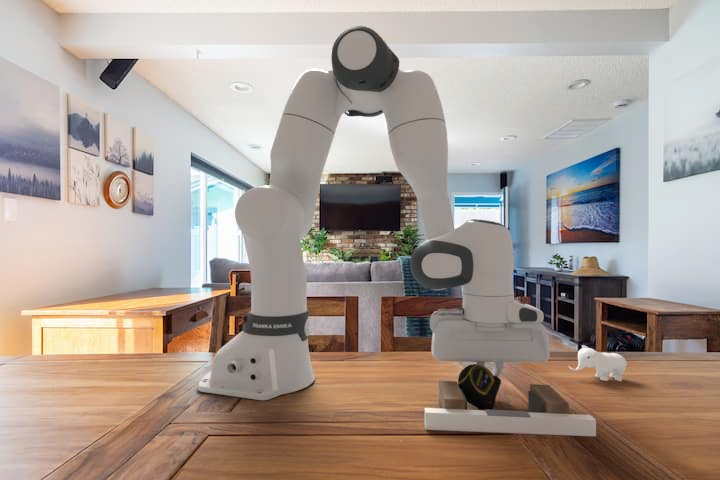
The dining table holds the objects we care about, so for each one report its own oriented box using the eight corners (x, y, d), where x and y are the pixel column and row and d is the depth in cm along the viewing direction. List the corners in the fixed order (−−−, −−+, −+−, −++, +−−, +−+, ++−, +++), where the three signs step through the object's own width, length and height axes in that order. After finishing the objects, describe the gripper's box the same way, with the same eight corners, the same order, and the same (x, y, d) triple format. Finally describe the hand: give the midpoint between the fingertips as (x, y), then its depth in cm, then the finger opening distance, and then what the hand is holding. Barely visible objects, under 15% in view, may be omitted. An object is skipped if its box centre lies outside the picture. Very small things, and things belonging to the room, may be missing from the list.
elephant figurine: (558, 372, 78) (558, 343, 78) (613, 372, 78) (613, 342, 78) (579, 386, 71) (579, 353, 71) (640, 385, 71) (640, 353, 71)
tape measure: (482, 419, 60) (496, 411, 57) (448, 391, 61) (460, 382, 59) (493, 389, 65) (506, 380, 62) (461, 363, 66) (473, 354, 64)
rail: (425, 432, 54) (425, 402, 54) (421, 406, 62) (421, 380, 62) (596, 441, 51) (596, 409, 51) (567, 412, 60) (567, 385, 60)
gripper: (431, 312, 63) (432, 391, 63) (553, 312, 62) (554, 393, 62) (427, 305, 69) (428, 377, 69) (538, 305, 68) (539, 379, 68)
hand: (488, 385), depth 65 cm, fingers closed
